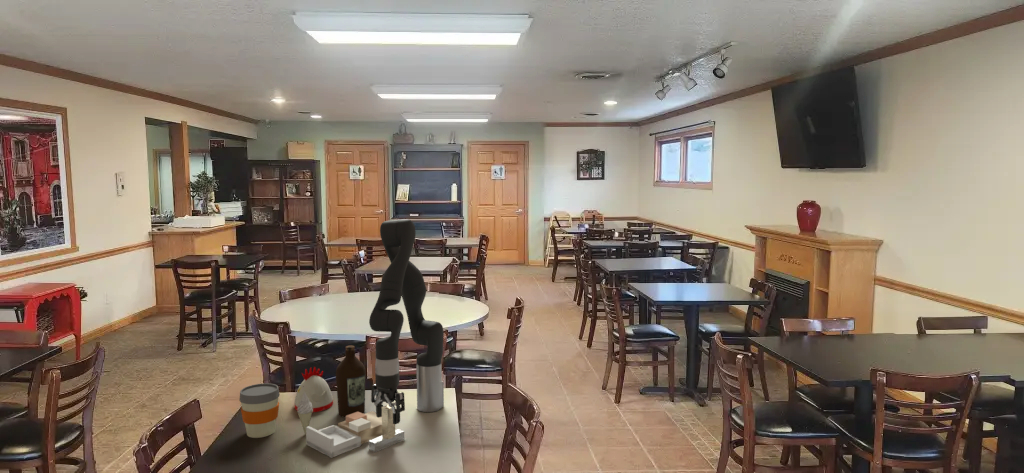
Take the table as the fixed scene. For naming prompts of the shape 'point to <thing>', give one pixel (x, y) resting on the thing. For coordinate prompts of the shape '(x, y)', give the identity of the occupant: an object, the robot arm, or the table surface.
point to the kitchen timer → (314, 391)
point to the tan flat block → (368, 433)
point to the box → (332, 440)
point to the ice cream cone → (305, 411)
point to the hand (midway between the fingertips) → (387, 420)
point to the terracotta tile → (355, 416)
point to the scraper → (386, 432)
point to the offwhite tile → (359, 425)
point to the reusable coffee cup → (260, 409)
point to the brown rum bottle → (350, 384)
